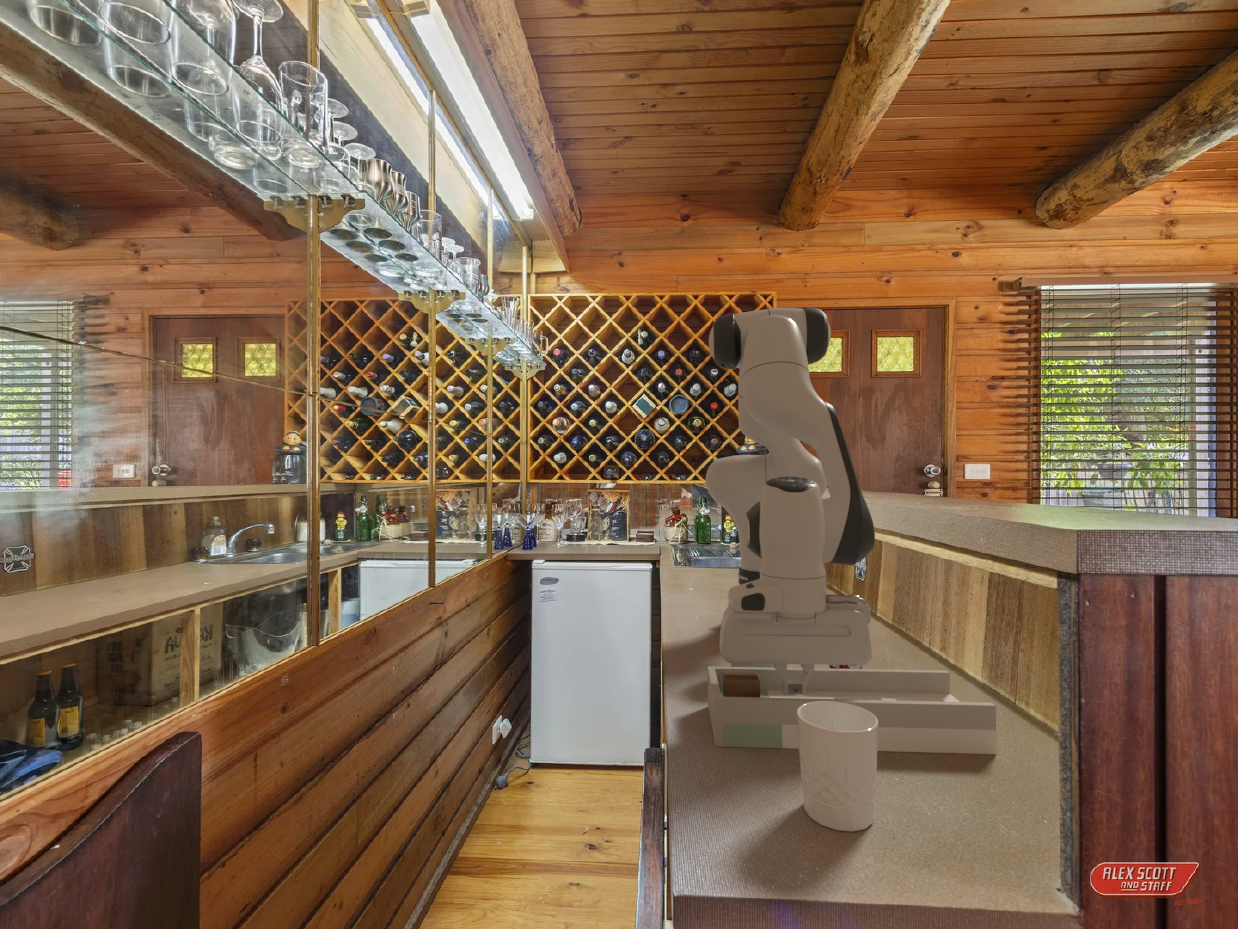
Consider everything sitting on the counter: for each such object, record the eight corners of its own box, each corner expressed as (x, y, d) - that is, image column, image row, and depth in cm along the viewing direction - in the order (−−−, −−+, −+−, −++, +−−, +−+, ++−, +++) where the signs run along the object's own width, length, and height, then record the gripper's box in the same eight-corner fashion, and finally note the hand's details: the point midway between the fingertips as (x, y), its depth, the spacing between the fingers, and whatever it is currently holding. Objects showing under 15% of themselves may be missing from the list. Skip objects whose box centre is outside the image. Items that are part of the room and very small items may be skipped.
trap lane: (708, 706, 88) (707, 666, 89) (947, 712, 86) (946, 670, 86) (715, 746, 76) (714, 699, 76) (996, 754, 73) (995, 705, 73)
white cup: (828, 842, 56) (826, 736, 56) (783, 798, 63) (782, 705, 64) (897, 828, 58) (895, 726, 58) (846, 787, 65) (845, 697, 66)
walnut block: (723, 698, 84) (722, 670, 84) (755, 699, 83) (754, 670, 83) (726, 711, 79) (726, 681, 79) (760, 712, 79) (760, 682, 79)
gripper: (862, 590, 84) (864, 687, 84) (717, 589, 85) (718, 684, 85) (878, 600, 77) (880, 705, 77) (721, 598, 79) (722, 701, 79)
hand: (794, 694), depth 81 cm, fingers closed
